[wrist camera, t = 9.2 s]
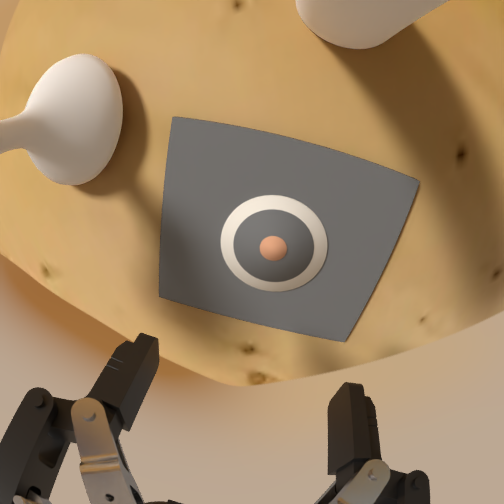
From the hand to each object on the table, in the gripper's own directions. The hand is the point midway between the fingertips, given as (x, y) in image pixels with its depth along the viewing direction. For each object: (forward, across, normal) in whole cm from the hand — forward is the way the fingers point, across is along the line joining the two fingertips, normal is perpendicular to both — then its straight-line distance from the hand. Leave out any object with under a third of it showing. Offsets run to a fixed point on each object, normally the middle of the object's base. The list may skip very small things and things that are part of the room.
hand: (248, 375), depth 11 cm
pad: (+12, 0, 0) cm, 12 cm away
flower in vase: (+13, +19, -7) cm, 24 cm away
